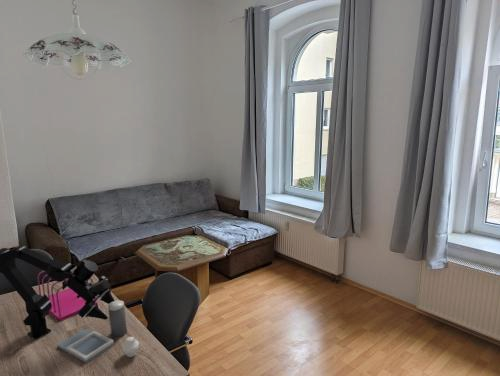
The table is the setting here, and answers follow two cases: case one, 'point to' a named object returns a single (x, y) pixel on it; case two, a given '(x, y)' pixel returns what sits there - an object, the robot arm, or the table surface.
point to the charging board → (86, 345)
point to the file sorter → (63, 301)
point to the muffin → (130, 346)
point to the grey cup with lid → (117, 319)
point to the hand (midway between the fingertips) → (111, 312)
